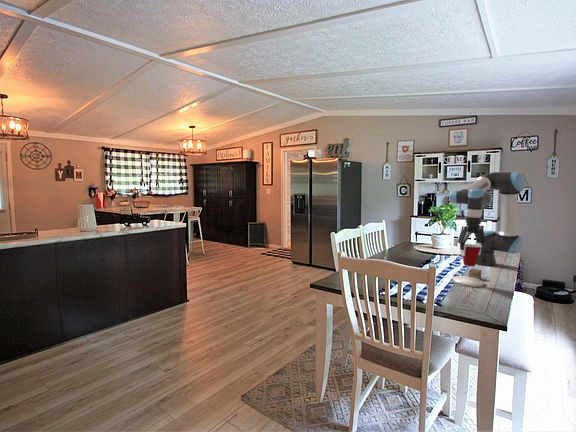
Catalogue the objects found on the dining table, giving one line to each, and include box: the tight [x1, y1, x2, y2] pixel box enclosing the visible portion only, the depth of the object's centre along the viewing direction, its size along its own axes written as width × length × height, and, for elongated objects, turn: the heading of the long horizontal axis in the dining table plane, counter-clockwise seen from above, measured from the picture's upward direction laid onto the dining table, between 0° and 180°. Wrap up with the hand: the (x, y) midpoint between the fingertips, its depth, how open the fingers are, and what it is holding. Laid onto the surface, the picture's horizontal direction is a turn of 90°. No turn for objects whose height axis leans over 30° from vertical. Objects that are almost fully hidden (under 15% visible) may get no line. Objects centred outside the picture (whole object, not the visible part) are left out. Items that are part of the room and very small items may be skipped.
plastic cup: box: [462, 243, 482, 267], centre depth 195 cm, size 11×11×12 cm
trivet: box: [452, 275, 485, 288], centre depth 197 cm, size 16×16×2 cm
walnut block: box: [468, 268, 482, 280], centre depth 206 cm, size 5×5×5 cm
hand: (470, 254), depth 195 cm, fingers closed on plastic cup, 11 cm apart
